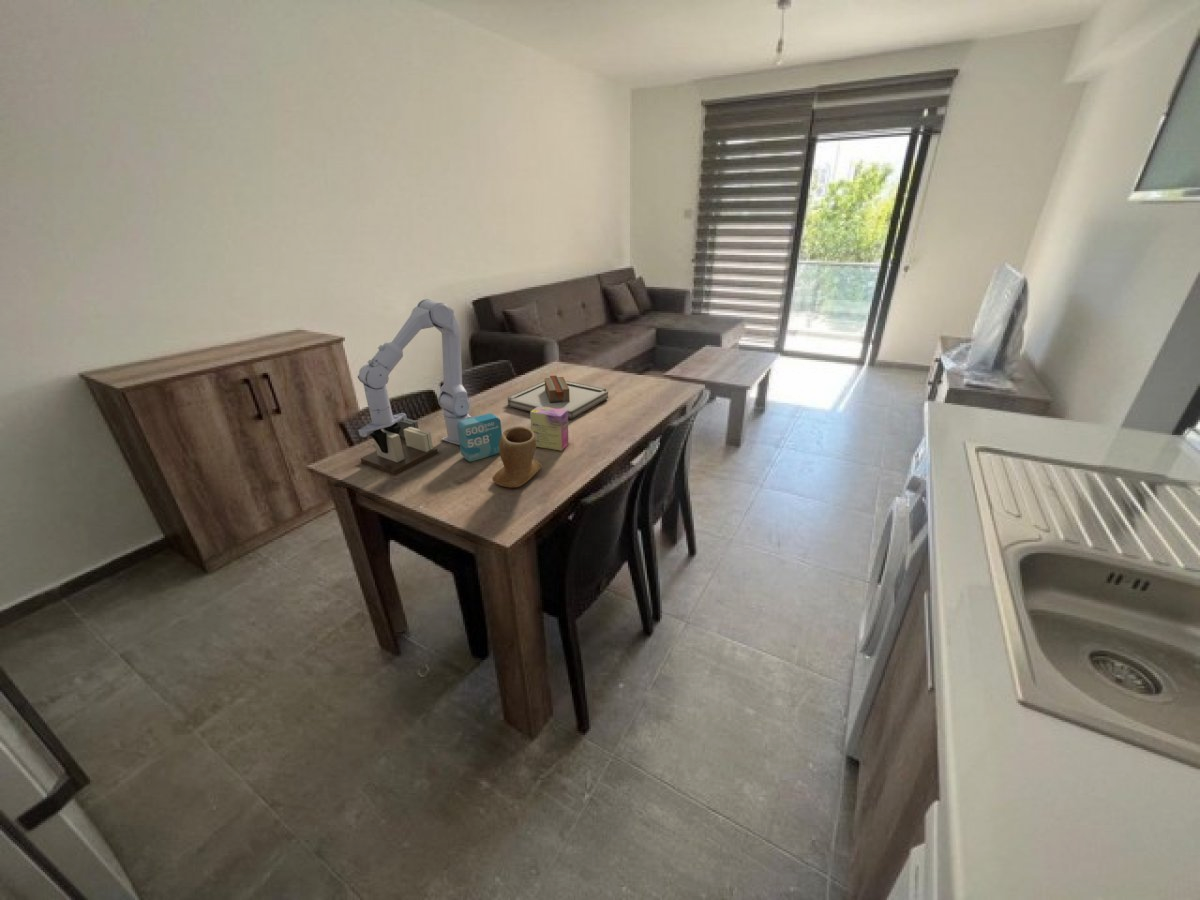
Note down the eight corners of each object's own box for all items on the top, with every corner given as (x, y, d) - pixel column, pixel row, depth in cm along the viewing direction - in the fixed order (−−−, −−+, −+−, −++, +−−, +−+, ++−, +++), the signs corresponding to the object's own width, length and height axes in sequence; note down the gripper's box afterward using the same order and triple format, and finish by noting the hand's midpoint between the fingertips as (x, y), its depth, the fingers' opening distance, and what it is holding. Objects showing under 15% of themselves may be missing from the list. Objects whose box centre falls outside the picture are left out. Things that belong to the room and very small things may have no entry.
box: (569, 443, 153) (567, 409, 148) (562, 451, 149) (560, 416, 143) (539, 439, 156) (537, 405, 151) (532, 446, 152) (529, 412, 146)
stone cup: (523, 495, 126) (519, 444, 119) (487, 485, 130) (480, 435, 124) (553, 470, 138) (550, 422, 131) (519, 461, 142) (514, 415, 136)
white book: (404, 459, 141) (399, 434, 138) (397, 462, 139) (391, 437, 136) (384, 452, 145) (378, 428, 142) (377, 455, 143) (371, 431, 140)
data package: (467, 463, 142) (461, 426, 136) (461, 457, 145) (455, 421, 140) (504, 452, 148) (500, 416, 143) (497, 447, 151) (493, 412, 146)
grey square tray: (611, 397, 191) (611, 379, 188) (567, 422, 168) (566, 402, 165) (551, 384, 205) (550, 367, 202) (503, 406, 183) (501, 387, 180)
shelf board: (438, 453, 148) (437, 448, 147) (394, 475, 136) (393, 470, 135) (405, 442, 155) (404, 438, 154) (361, 462, 142) (360, 458, 142)
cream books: (433, 448, 147) (430, 432, 145) (426, 452, 145) (423, 435, 143) (413, 442, 151) (410, 426, 149) (406, 445, 149) (403, 429, 147)
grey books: (420, 437, 158) (417, 421, 155) (413, 441, 156) (410, 424, 153) (402, 432, 162) (398, 415, 159) (395, 435, 160) (392, 418, 157)
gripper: (392, 397, 142) (400, 438, 149) (347, 412, 131) (358, 456, 137) (408, 401, 139) (416, 443, 145) (363, 417, 128) (374, 462, 134)
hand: (389, 450), depth 141 cm, fingers closed on white book, 2 cm apart
